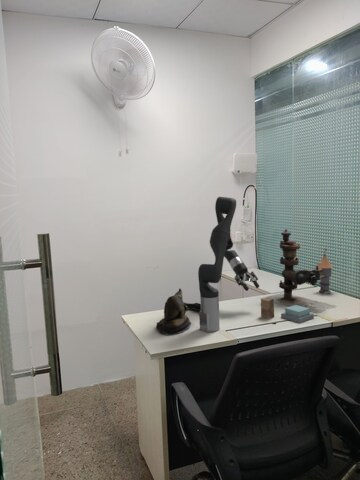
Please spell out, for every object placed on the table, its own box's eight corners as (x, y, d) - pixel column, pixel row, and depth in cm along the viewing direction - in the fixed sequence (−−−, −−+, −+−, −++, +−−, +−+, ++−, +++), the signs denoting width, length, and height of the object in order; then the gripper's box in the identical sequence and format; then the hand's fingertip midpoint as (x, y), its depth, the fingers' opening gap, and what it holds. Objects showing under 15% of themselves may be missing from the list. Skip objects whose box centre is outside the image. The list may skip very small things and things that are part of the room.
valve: (338, 306, 224) (339, 230, 220) (316, 313, 212) (318, 232, 208) (281, 293, 258) (281, 227, 254) (260, 298, 246) (260, 229, 242)
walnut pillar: (268, 318, 206) (267, 300, 205) (261, 316, 210) (260, 298, 209) (274, 316, 209) (274, 299, 208) (267, 314, 213) (267, 297, 212)
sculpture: (173, 318, 213) (177, 284, 208) (199, 330, 202) (203, 295, 197) (144, 330, 196) (147, 294, 191) (171, 344, 185) (174, 306, 180)
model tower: (312, 291, 258) (312, 247, 255) (326, 289, 261) (326, 246, 258) (321, 295, 249) (322, 249, 246) (336, 293, 252) (336, 248, 249)
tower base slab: (299, 324, 198) (299, 318, 197) (281, 318, 207) (281, 313, 207) (313, 319, 205) (313, 313, 204) (295, 314, 214) (295, 309, 214)
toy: (173, 309, 237) (207, 316, 214) (172, 300, 236) (206, 306, 214) (182, 307, 242) (217, 313, 219) (182, 298, 242) (216, 303, 219)
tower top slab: (299, 317, 199) (298, 311, 199) (285, 313, 207) (285, 308, 206) (309, 313, 204) (309, 308, 204) (295, 310, 212) (295, 304, 211)
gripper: (232, 264, 218) (247, 287, 210) (250, 260, 226) (265, 282, 218) (226, 271, 223) (240, 294, 215) (243, 268, 231) (258, 290, 223)
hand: (253, 288), depth 217 cm, fingers open, 8 cm apart
